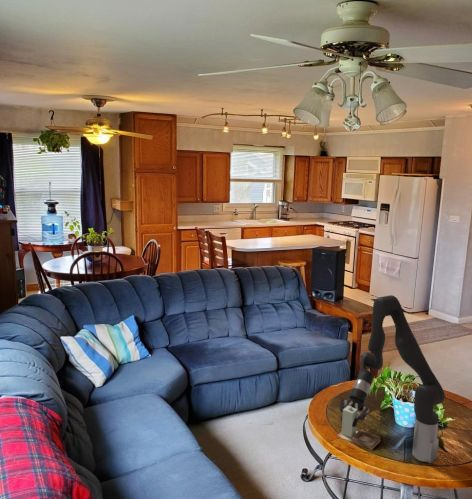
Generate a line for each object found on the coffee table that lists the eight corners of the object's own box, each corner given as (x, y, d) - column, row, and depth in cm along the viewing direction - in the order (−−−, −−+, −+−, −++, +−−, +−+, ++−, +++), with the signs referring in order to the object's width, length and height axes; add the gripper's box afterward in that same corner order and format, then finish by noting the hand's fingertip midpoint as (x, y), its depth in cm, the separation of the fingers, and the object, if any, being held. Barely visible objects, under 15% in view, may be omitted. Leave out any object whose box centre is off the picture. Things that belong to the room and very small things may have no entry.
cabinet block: (356, 433, 213) (357, 406, 211) (351, 437, 209) (352, 410, 207) (346, 429, 216) (347, 403, 214) (341, 433, 212) (342, 407, 210)
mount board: (380, 442, 208) (380, 436, 207) (371, 452, 200) (371, 446, 200) (346, 429, 219) (346, 423, 218) (336, 438, 211) (337, 432, 211)
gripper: (344, 383, 220) (331, 416, 212) (372, 392, 210) (359, 427, 203) (348, 390, 224) (336, 422, 217) (376, 399, 215) (364, 433, 208)
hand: (347, 424), depth 210 cm, fingers closed on cabinet block, 5 cm apart
